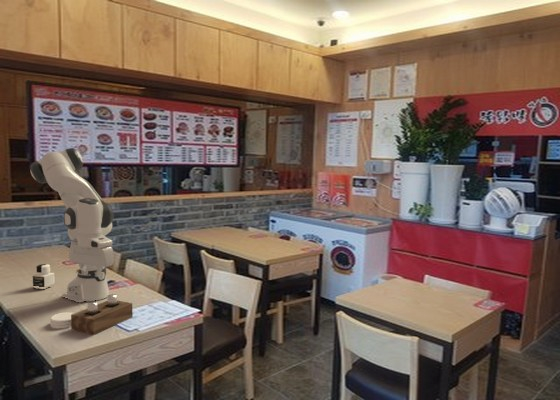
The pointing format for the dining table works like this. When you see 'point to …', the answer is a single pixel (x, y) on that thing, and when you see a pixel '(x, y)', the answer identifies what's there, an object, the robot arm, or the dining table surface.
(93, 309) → the steel peg
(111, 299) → the steel peg
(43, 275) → the medicine bottle
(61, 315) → the coaster
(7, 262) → the dining table surface
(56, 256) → the dining table surface
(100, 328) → the walnut block
